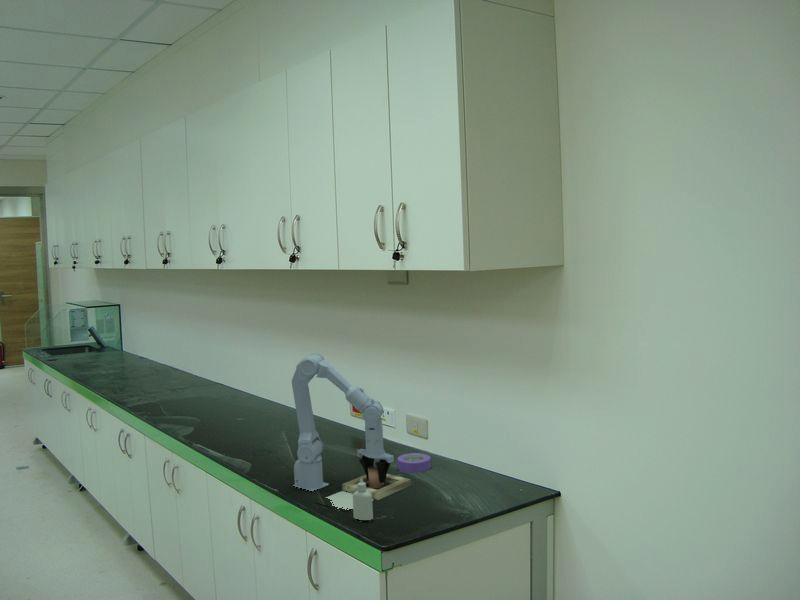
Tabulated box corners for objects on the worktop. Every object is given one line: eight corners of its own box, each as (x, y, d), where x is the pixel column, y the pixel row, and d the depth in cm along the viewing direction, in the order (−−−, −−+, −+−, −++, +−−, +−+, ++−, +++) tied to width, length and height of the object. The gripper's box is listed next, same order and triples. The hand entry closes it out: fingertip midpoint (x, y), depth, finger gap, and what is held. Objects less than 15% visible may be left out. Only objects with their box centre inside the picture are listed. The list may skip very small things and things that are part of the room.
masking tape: (434, 463, 253) (433, 453, 252) (426, 474, 241) (426, 463, 241) (402, 462, 256) (402, 452, 255) (394, 472, 245) (393, 462, 244)
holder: (342, 490, 228) (341, 484, 228) (375, 476, 240) (375, 471, 240) (378, 500, 218) (377, 493, 218) (411, 485, 230) (410, 479, 230)
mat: (314, 503, 218) (314, 502, 218) (342, 491, 227) (342, 490, 227) (346, 512, 209) (346, 511, 209) (373, 500, 218) (373, 499, 218)
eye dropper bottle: (364, 514, 206) (362, 474, 206) (375, 520, 202) (373, 479, 201) (352, 518, 204) (349, 478, 203) (362, 524, 199) (360, 483, 198)
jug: (365, 486, 229) (364, 468, 228) (379, 480, 234) (378, 463, 234) (377, 489, 226) (376, 471, 225) (390, 483, 231) (389, 465, 230)
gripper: (399, 439, 226) (401, 481, 227) (366, 433, 236) (368, 473, 237) (384, 445, 221) (386, 487, 222) (351, 438, 230) (353, 479, 231)
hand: (376, 480), depth 229 cm, fingers closed on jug, 5 cm apart
